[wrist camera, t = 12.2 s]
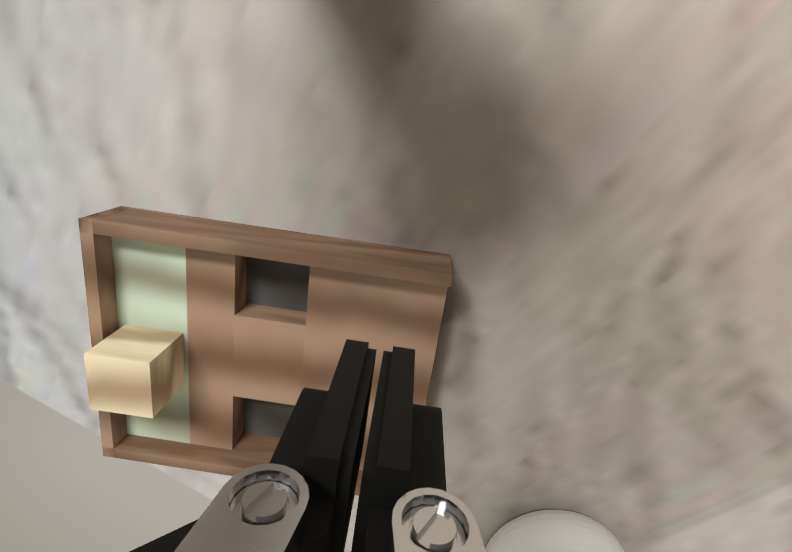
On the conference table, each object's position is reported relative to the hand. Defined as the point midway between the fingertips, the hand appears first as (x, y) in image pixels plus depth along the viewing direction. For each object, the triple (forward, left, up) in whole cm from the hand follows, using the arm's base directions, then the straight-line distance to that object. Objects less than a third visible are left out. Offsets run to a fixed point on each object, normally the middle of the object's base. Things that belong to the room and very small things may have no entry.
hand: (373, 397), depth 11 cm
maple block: (+16, -20, -24) cm, 35 cm away
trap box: (+15, -10, -27) cm, 33 cm away
